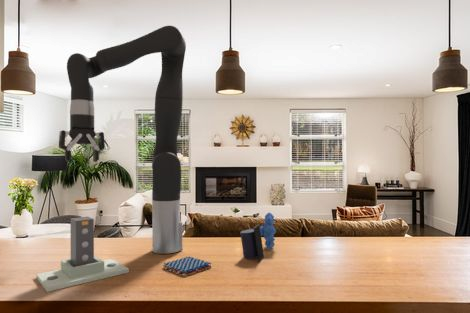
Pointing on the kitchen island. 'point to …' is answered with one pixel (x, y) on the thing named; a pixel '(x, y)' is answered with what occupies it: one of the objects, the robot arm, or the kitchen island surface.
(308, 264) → the kitchen island surface
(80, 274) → the bracket
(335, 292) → the kitchen island surface
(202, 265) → the woven mat
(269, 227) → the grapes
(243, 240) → the speaker
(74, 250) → the tall grey pillar
